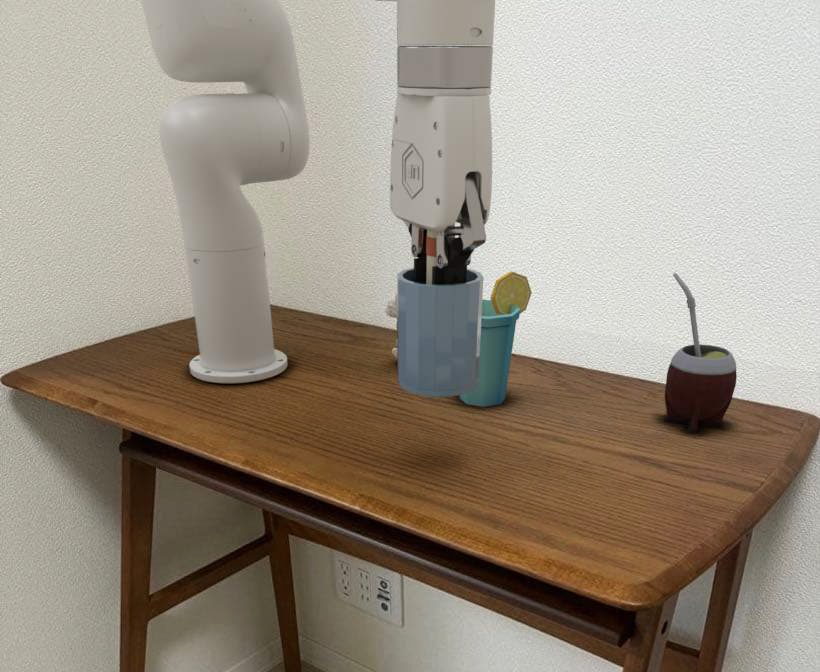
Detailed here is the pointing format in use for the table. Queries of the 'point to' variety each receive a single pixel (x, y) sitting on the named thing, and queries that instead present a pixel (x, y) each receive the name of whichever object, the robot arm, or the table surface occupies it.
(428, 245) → the beige cylinder rod
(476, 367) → the tumbler
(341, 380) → the table surface
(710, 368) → the mate gourd
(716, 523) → the table surface
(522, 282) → the cup
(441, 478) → the table surface
